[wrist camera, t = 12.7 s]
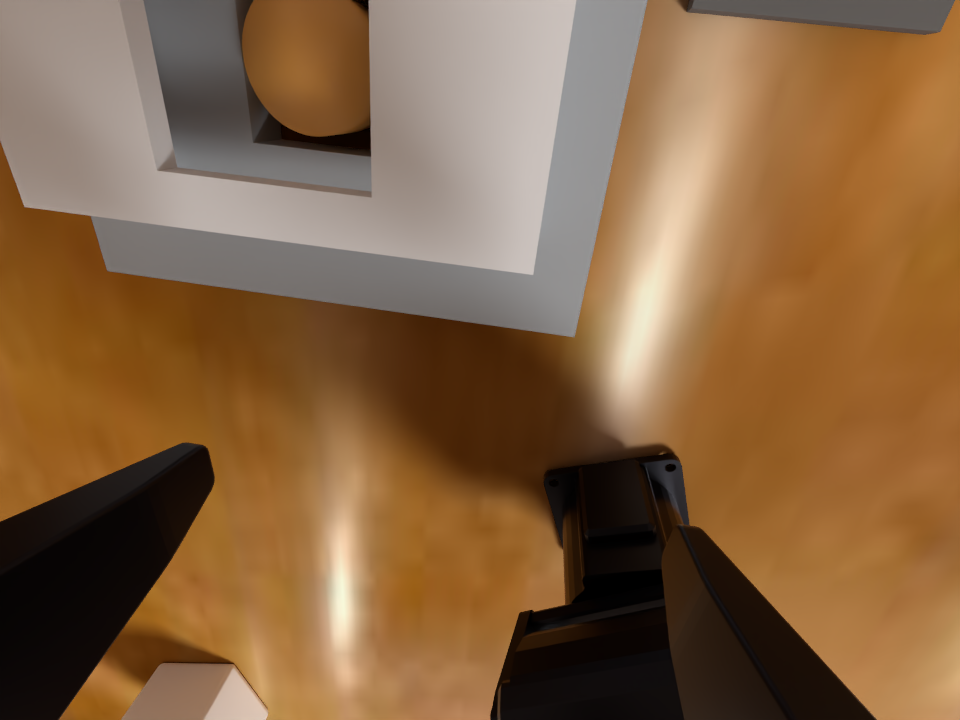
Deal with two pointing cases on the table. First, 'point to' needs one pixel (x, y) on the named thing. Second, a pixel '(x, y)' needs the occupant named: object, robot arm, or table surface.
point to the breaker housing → (331, 151)
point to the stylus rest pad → (838, 12)
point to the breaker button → (310, 63)
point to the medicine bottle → (197, 694)
